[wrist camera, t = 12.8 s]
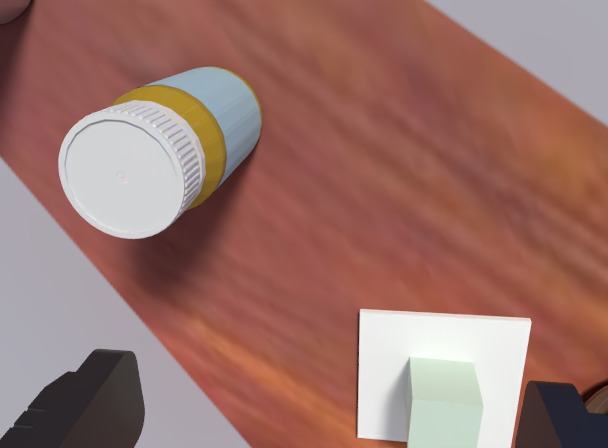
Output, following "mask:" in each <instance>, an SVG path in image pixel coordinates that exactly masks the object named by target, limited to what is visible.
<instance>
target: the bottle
mask: <svg viewBox="0 0 608 448" xmlns="http://www.w3.org/2000/svg"><path fill="white" fill-rule="evenodd" d="M262 123H263V118H262V111H261V106H260V103H259V101H258V98H257V96H256V94H255V92H254V91H253V89H252V88H251V87H250V86H249V85H248V83H247V82H246V81H245V80H244V79H243V78H241V77H240V76H238V75H237V74H235V73H233V72H232V71H230V70H227V69H224V68H219V67H214V66H210V67H201V68H196V69H192V70H189V71H186V72H183V73H180V74H177V75H174V76H171V77H168V78H165V79H162V80H159V81H156V82H153V83H150V84H147V85H144V86H141V87H138V88H136V89H134V90H132V91H130V92H128V93H126V94H124V95H122V96H120V97H119V98H118V99H117V100H116V101H115V102H114V103H113V104H112V105H111V107H109V108H106V109H103V110H101V111H98V112H95V113H92V114H90V115H89V116H86V117H84V118H83V119H82V120H80V121H78V123H77V124H75V125H74V126H73V128H72V129H71V130H70V131H69V132H68V134H67V135H66V137H65V139H64V141H63V143H62V146H61V149H60V154H59V175H60V180H61V183H62V186H63V189H64V191H65V194H66V196H67V197H68V199H69V201H70V203H71V204H72V206H73V207H74V208H75V209H76V211H77V212H78V213H79V214H80V215H81V216H82V217H83V218H84V219H85V220H86V221H87V222H89V223H90V224H91V225H93V226H94V227H96V228H97V229H99V230H101V231H103V232H105V233H107V234H110V235H113V236H116V237H120V238H127V239H139V238H145V237H149V236H152V235H155V234H157V233H160V232H161V231H163V230H165V229H166V228H167V227H169V226H170V225H171V224H172V223H173V222H174V221H175V220H176V219H177V218H178V217H179V216H180V215H181V214H182V213H183V212H184V211H186V210H189V209H191V208H194V207H196V206H198V205H200V204H201V203H202V202H203V201H205V200H206V199H207V198H208V197H209V196H210V195H211V194H212V193H213V192H214V191H215V190H216V189H217V188H218V187H219V186H220V185H221V184H222V183H223V182H224V181H225V180H226V178H227V177H228V176H229V175H230V174H231V173H232V172H233V171H234V170H235V169H236V168H237V167H238V165H239V164H240V163H241V162H242V161H243V160H244V159H245V158H246V157H247V156H248V155H249V153H250V152H251V151H252V150H253V148H254V147H255V145H256V143H257V141H258V139H259V138H260V135H261V129H262Z"/></svg>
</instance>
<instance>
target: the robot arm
mask: <svg viewBox="0 0 608 448" xmlns="http://www.w3.org/2000/svg"><path fill="white" fill-rule="evenodd" d="M30 1H31V0H0V24H4V23H7V22H10V21H11V20H13V19H15V18H16V17H18V16H19V15H20V14H21V13H22V12H23V11H24V10H25V9H26V8H27V7H28V5H29V3H30ZM144 416H145V408H144V401H143V395H142V390H141V383H140V378H139V371H138V365H137V360H136V356H135V354H134V353H133V352H132V351H121V350H108V349H96V350H94V351H93V352H92V353H91V354H90V355H89V356H88V357H87V359H86V360H85V361H84V363H83V364H82V365H81V366H80V368H79V369H78V370H77V371H76V372H67V373H65V374H64V375H62V376H61V377H59V378H58V379H56V380H55V381H54V382H52V383H50V384H49V385H48V386H46V387H44V389H43V390H42V391H41V392H40V393H39V395H38V396H37V397H36V398H35V399H34V400H33V402H32V403H31V404H30V405H29V406H28V410H27V411H24V412H23V413H22V415H21V416H20V417H19V418H18V419H17V421H16V422H15V423H14V427H13V428H10V429H9V430H8V431H7V432H6V433H5V435H4V436H3V437H2V438H1V440H0V448H134V446H135V444H136V443H137V441H138V439H139V437H140V434H141V431H142V428H143V423H144ZM515 448H608V417H607V416H606V415H605V414H600V413H589V412H588V410H587V408H586V407H585V405H584V403H583V401H582V399H581V397H580V395H579V393H578V391H577V389H576V388H575V386H574V385H573V384H571V383H559V382H545V381H529V382H528V384H527V387H526V390H525V395H524V400H523V406H522V411H521V416H520V421H519V426H518V431H517V436H516V443H515Z"/></svg>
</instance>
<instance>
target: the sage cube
mask: <svg viewBox="0 0 608 448" xmlns="http://www.w3.org/2000/svg"><path fill="white" fill-rule="evenodd" d="M483 408H484V405H483V401H482V396H481V392H480V388H479V384H478V380H477V376H476V372H475V368H474V364H473V362H464V361H452V360H441V359H430V358H419V357H410V360H409V370H408V381H407V391H406V401H405V413H406V434H407V448H477V443H478V437H479V431H480V425H481V420H482V414H483Z"/></svg>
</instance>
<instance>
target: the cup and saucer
mask: <svg viewBox="0 0 608 448" xmlns="http://www.w3.org/2000/svg"><path fill="white" fill-rule="evenodd" d="M584 405H585V407H586V408H587V410H588V412H589V413H600V414H605V415H606V416H607V417H608V385H607V386H605V387H603V388H602V389H600V390H599V391H598V392H596V393H595V394H594V395H593V396H592V397H590V398H589V399H588V400H587V401H586V403H585V404H584Z"/></svg>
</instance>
